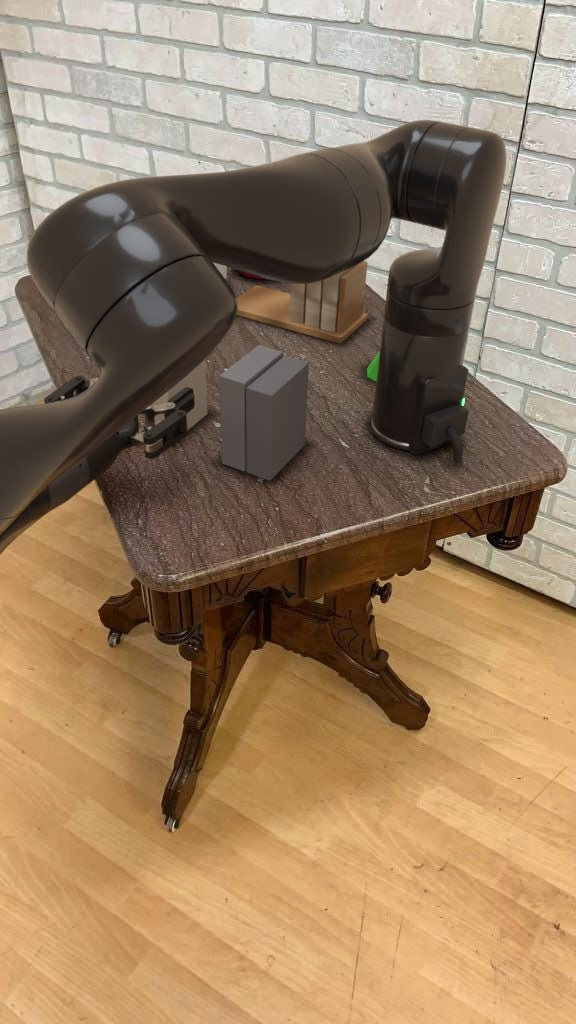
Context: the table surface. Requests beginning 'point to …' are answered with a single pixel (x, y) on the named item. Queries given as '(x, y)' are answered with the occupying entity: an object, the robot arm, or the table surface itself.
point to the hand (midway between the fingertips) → (158, 384)
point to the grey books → (263, 411)
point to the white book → (198, 385)
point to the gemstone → (373, 368)
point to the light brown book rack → (312, 305)
